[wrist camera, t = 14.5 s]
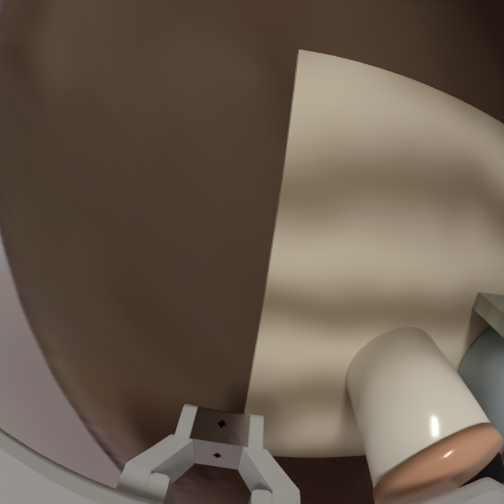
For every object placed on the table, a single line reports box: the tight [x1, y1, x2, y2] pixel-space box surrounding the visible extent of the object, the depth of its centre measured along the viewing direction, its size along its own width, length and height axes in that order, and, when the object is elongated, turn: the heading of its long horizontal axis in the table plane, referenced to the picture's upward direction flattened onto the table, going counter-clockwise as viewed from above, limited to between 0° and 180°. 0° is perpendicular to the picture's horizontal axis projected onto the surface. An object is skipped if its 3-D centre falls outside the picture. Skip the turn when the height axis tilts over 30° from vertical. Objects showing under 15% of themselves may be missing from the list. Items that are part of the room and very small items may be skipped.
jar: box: [346, 327, 503, 504], centre depth 10 cm, size 6×6×8 cm
